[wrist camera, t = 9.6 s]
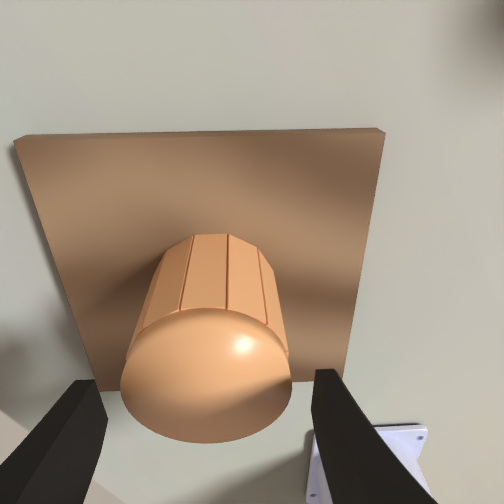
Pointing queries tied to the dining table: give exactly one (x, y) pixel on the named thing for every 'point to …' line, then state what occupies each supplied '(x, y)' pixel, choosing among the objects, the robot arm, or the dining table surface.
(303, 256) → the post block
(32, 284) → the dining table surface
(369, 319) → the dining table surface
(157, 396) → the wire nut cap
